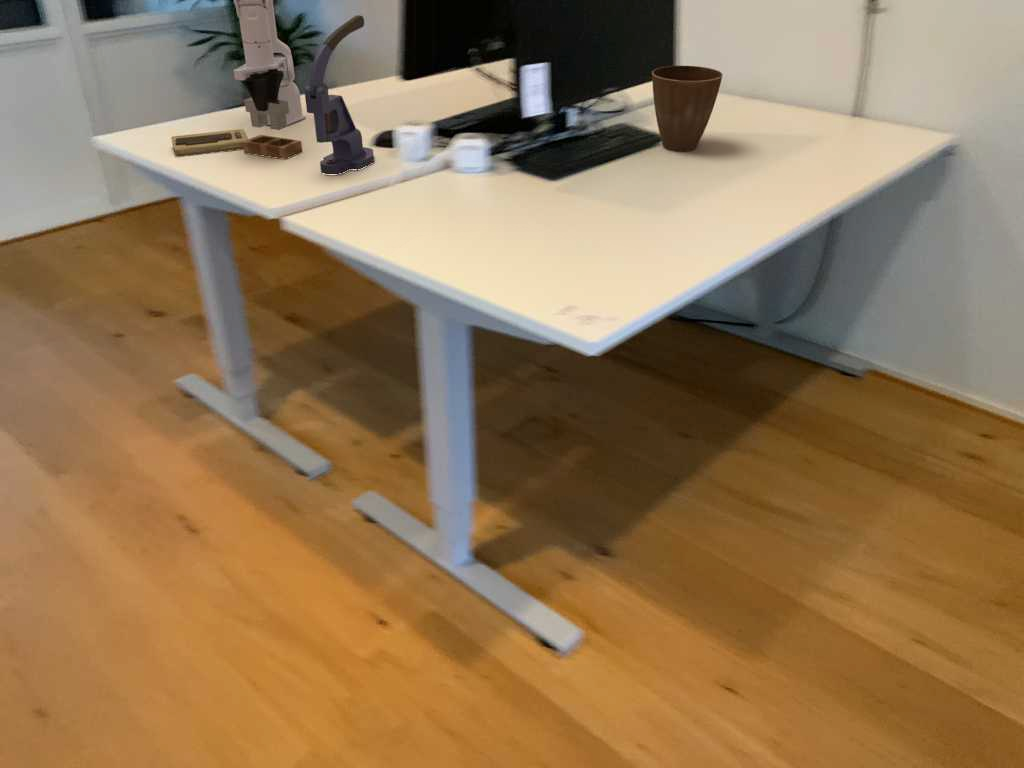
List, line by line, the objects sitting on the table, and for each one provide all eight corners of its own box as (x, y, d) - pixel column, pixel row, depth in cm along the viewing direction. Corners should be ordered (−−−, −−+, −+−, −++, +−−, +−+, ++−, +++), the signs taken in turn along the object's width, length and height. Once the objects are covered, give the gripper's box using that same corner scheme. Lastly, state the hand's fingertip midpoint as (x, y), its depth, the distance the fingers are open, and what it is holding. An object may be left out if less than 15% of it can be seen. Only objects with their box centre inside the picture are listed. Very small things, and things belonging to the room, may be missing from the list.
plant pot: (698, 161, 182) (708, 83, 174) (634, 150, 189) (640, 75, 180) (722, 143, 193) (732, 70, 185) (661, 134, 200) (668, 62, 191)
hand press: (340, 180, 171) (324, 31, 156) (304, 174, 174) (285, 27, 159) (389, 155, 185) (379, 16, 170) (356, 149, 188) (343, 13, 173)
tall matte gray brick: (257, 122, 186) (253, 96, 183) (291, 127, 183) (287, 100, 180) (248, 125, 184) (244, 99, 181) (282, 130, 180) (278, 104, 177)
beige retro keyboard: (176, 159, 183) (173, 143, 182) (173, 149, 190) (170, 134, 188) (250, 150, 189) (248, 135, 187) (245, 141, 195) (243, 126, 193)
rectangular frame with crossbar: (261, 145, 190) (260, 134, 189) (302, 152, 187) (300, 140, 185) (244, 153, 186) (242, 141, 184) (285, 159, 182) (283, 148, 181)
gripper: (249, 48, 167) (260, 118, 174) (294, 36, 178) (303, 103, 185) (221, 45, 169) (232, 115, 177) (267, 34, 181) (276, 99, 188)
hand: (266, 108), depth 181 cm, fingers closed on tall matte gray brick, 3 cm apart
